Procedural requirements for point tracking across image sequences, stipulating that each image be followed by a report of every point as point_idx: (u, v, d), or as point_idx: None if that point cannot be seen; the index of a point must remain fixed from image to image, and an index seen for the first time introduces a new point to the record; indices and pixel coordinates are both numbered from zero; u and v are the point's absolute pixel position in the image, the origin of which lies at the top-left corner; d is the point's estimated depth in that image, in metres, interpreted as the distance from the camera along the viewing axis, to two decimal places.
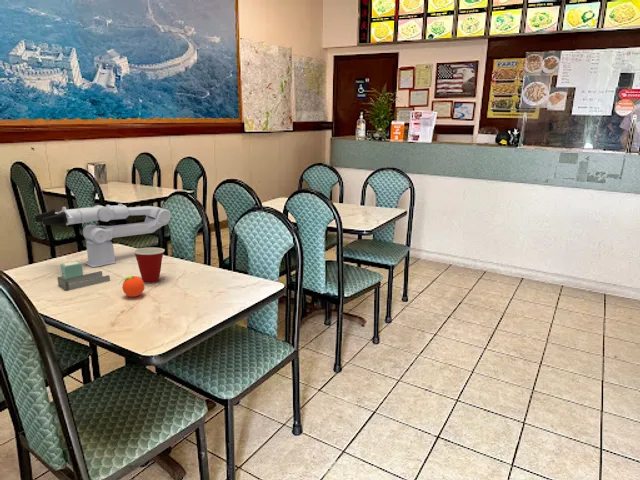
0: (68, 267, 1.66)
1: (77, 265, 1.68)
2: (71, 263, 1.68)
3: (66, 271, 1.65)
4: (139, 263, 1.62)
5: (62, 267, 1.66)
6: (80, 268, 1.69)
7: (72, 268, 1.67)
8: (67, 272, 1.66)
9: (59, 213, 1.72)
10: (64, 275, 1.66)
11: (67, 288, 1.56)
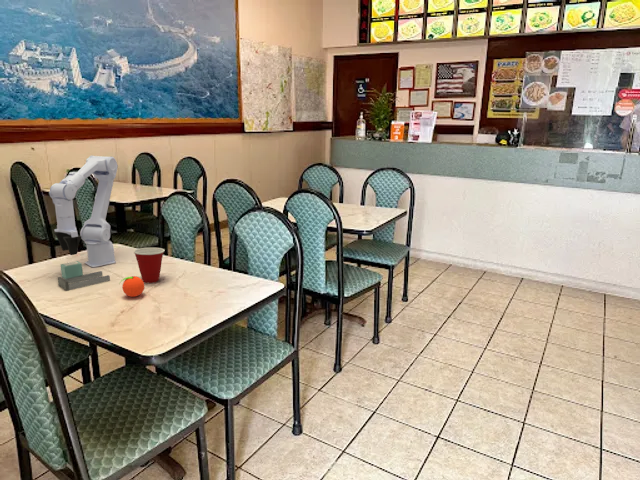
0: (68, 267, 1.66)
1: (77, 265, 1.68)
2: (71, 263, 1.68)
3: (66, 271, 1.65)
4: (139, 263, 1.62)
5: (62, 267, 1.66)
6: (80, 268, 1.69)
7: (72, 268, 1.67)
8: (67, 272, 1.66)
9: None
10: (64, 275, 1.66)
11: (67, 288, 1.56)
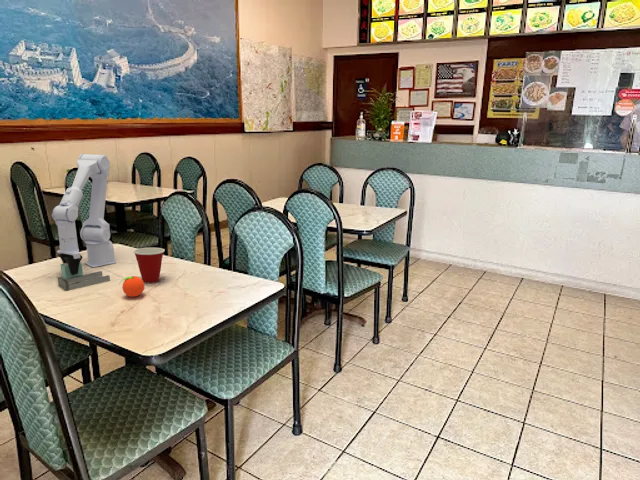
0: (68, 267, 1.66)
1: None
2: None
3: (66, 271, 1.65)
4: (139, 263, 1.62)
5: (62, 267, 1.66)
6: (80, 268, 1.69)
7: None
8: (67, 272, 1.66)
9: None
10: (64, 275, 1.66)
11: (67, 288, 1.56)
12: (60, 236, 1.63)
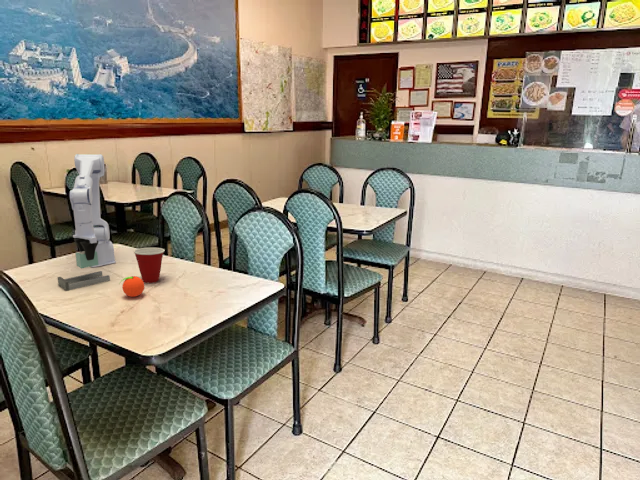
0: (83, 255, 1.60)
1: None
2: None
3: (81, 259, 1.60)
4: (139, 263, 1.62)
5: (77, 255, 1.61)
6: (95, 257, 1.64)
7: None
8: (82, 261, 1.61)
9: None
10: (79, 264, 1.61)
11: (67, 288, 1.56)
12: (79, 220, 1.57)
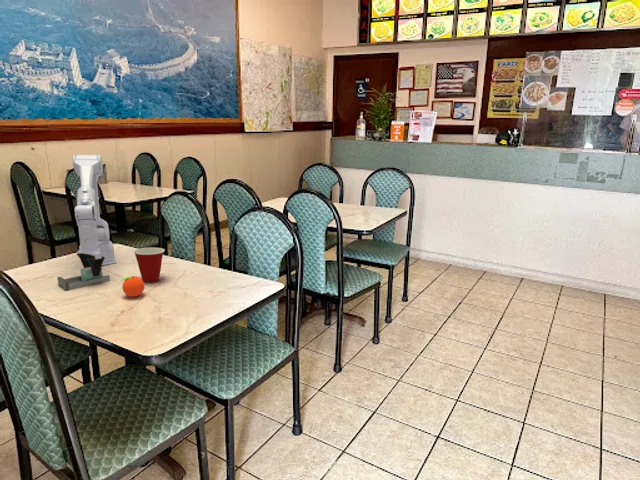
0: (88, 272, 1.62)
1: None
2: None
3: (86, 276, 1.61)
4: (139, 263, 1.62)
5: (82, 272, 1.62)
6: (100, 273, 1.65)
7: None
8: (87, 277, 1.62)
9: None
10: (84, 280, 1.62)
11: (67, 288, 1.56)
12: (84, 236, 1.58)
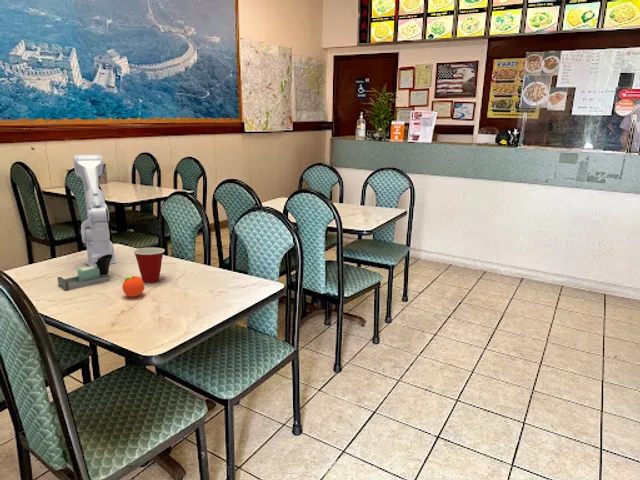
0: (85, 272, 1.61)
1: (94, 270, 1.63)
2: (88, 268, 1.63)
3: (83, 276, 1.61)
4: (139, 263, 1.62)
5: (79, 272, 1.61)
6: (97, 273, 1.64)
7: (89, 273, 1.62)
8: (84, 277, 1.61)
9: None
10: (81, 280, 1.62)
11: (67, 288, 1.56)
12: (99, 238, 1.61)
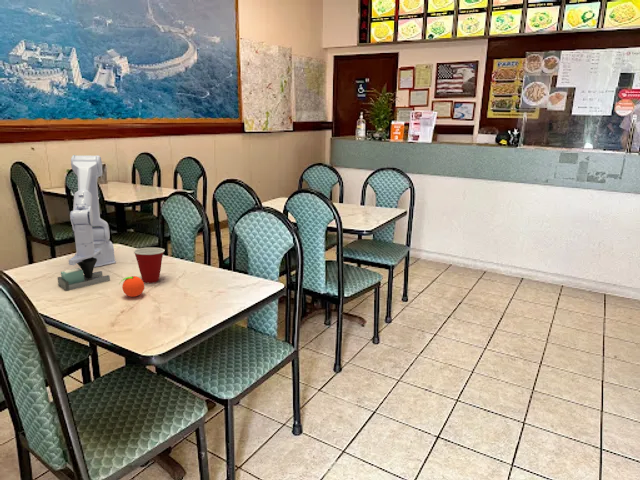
0: (69, 274, 1.57)
1: (78, 272, 1.60)
2: (72, 270, 1.60)
3: (67, 279, 1.57)
4: (139, 263, 1.62)
5: (62, 275, 1.58)
6: (81, 275, 1.61)
7: (73, 275, 1.59)
8: (68, 280, 1.58)
9: None
10: None
11: (67, 288, 1.56)
12: (80, 241, 1.57)
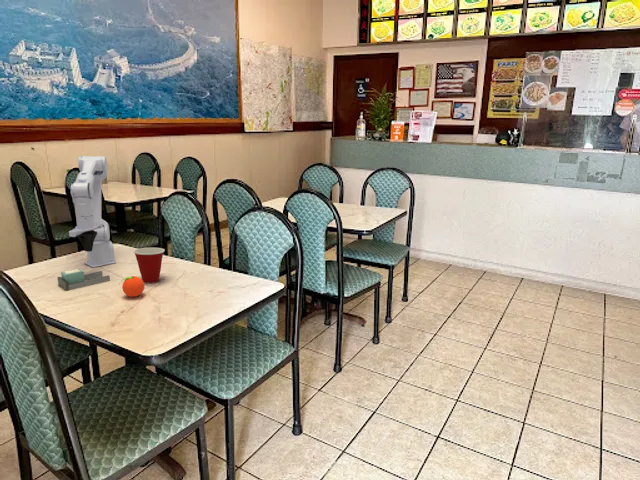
0: (69, 275, 1.57)
1: (78, 273, 1.60)
2: (72, 271, 1.60)
3: (67, 279, 1.57)
4: (139, 263, 1.62)
5: (63, 275, 1.58)
6: (82, 276, 1.61)
7: (73, 276, 1.59)
8: (68, 281, 1.58)
9: None
10: None
11: (67, 288, 1.56)
12: (80, 213, 1.61)
